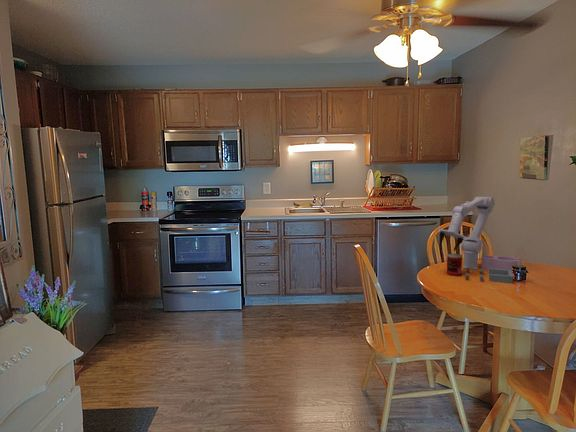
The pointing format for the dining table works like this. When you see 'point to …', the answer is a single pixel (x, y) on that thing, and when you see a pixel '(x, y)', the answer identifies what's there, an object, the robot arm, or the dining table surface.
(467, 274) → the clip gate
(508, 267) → the clip
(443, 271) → the dining table surface
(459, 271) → the canned food
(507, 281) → the end cradle
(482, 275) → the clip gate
